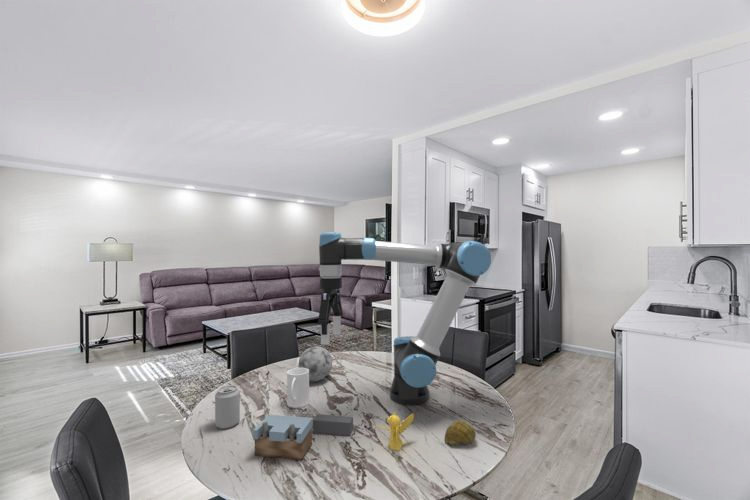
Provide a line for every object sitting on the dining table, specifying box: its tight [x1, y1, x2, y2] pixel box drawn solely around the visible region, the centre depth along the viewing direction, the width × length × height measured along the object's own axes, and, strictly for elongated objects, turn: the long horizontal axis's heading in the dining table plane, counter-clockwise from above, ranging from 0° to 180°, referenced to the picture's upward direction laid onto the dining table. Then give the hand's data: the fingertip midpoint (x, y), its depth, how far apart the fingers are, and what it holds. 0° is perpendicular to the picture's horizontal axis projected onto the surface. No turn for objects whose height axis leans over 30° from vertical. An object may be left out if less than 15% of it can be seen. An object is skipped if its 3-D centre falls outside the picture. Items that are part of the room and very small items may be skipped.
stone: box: [297, 345, 333, 383], centre depth 150 cm, size 15×16×15 cm
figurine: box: [374, 412, 415, 451], centre depth 100 cm, size 12×12×9 cm
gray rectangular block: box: [312, 413, 354, 437], centre depth 107 cm, size 12×4×4 cm, turn 80°
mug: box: [286, 367, 311, 409], centre depth 126 cm, size 12×8×12 cm
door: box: [252, 414, 314, 443], centre depth 97 cm, size 14×9×2 cm, turn 80°
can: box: [214, 384, 241, 430], centre depth 112 cm, size 8×8×12 cm
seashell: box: [444, 420, 477, 446], centre depth 101 cm, size 10×7×8 cm
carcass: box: [254, 422, 313, 461], centre depth 97 cm, size 14×8×9 cm, turn 80°
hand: (331, 339), depth 117 cm, fingers open, 13 cm apart
